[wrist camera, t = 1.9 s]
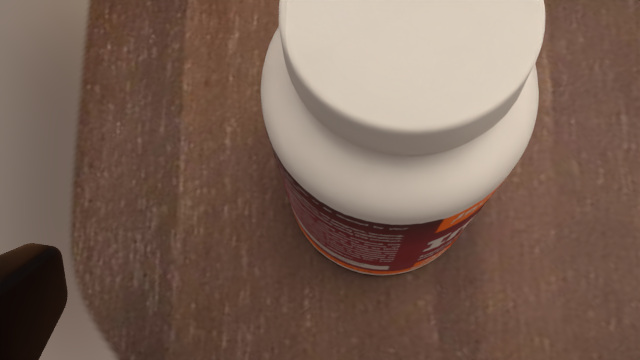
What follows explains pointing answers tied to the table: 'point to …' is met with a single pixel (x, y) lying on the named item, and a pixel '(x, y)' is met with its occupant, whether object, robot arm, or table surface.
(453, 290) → the table surface
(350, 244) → the pill bottle
